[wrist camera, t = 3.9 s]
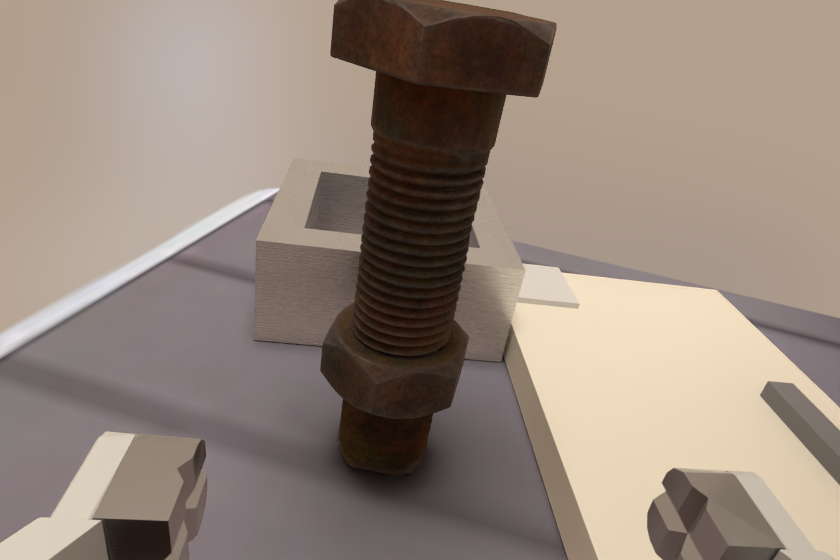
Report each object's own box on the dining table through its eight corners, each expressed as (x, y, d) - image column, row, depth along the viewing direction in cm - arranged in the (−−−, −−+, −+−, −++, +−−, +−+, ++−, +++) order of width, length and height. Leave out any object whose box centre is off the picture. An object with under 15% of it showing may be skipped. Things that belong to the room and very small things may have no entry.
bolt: (343, 386, 24) (389, -11, 17) (460, 420, 23) (559, 19, 16) (281, 491, 19) (309, -17, 12) (429, 538, 18) (554, 27, 11)
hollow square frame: (468, 255, 37) (483, 182, 35) (500, 362, 27) (525, 270, 25) (290, 235, 36) (293, 158, 33) (254, 340, 25) (256, 240, 23)
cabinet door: (704, 315, 35) (721, 278, 33) (1109, 747, 15) (1183, 696, 14) (483, 291, 33) (492, 252, 32) (626, 746, 14) (665, 689, 12)
